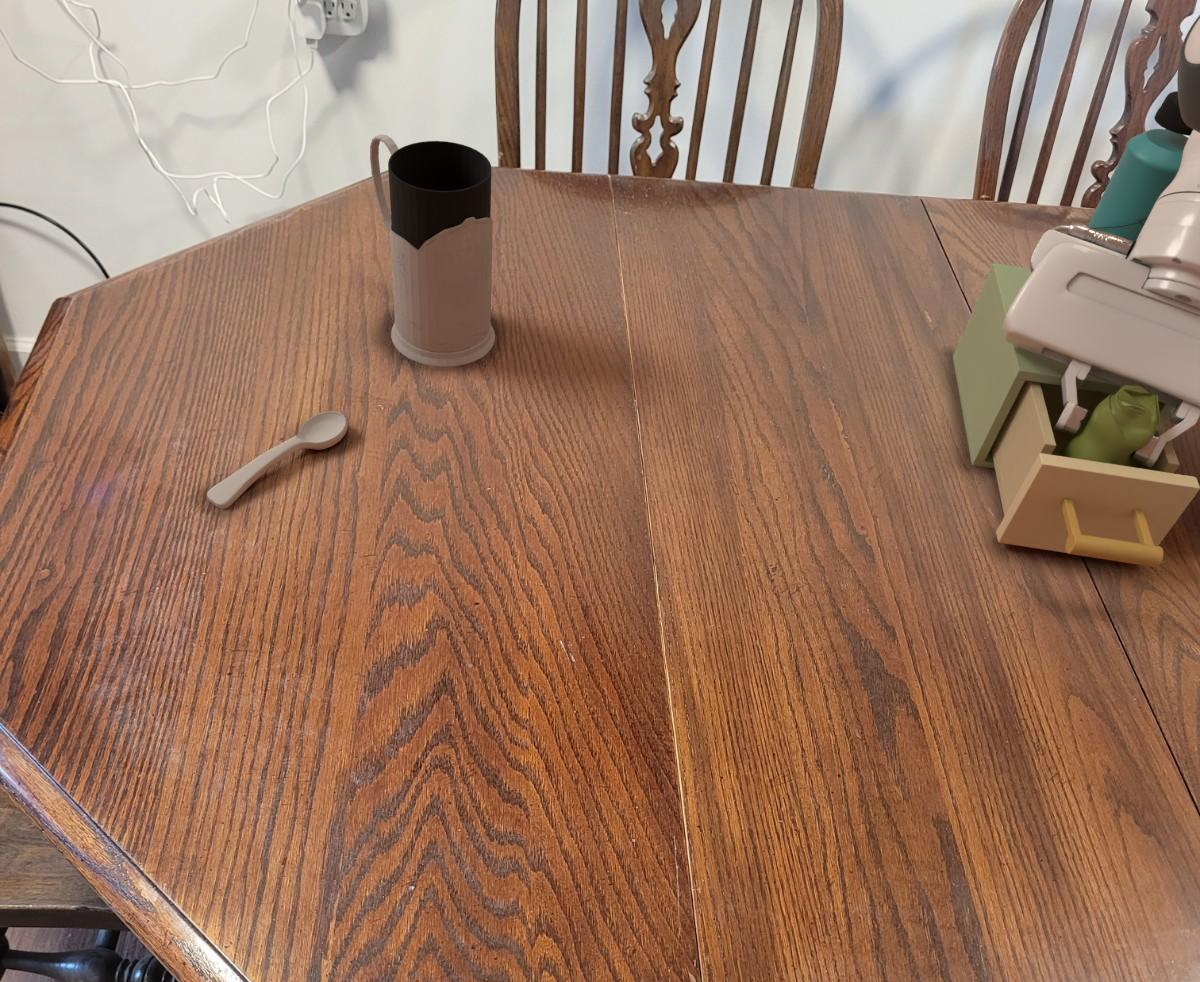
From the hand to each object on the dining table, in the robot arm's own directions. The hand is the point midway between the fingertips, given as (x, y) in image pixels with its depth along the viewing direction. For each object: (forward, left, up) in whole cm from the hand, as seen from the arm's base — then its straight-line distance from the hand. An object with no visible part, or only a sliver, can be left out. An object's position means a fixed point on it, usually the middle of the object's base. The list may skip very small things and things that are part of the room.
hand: (1102, 446), depth 74 cm
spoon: (+58, +7, -8) cm, 59 cm away
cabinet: (0, -12, -8) cm, 15 cm away
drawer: (0, 0, -7) cm, 7 cm away
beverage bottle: (-8, -31, -8) cm, 33 cm away
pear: (-1, 0, -6) cm, 6 cm away
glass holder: (+52, -13, -8) cm, 54 cm away
